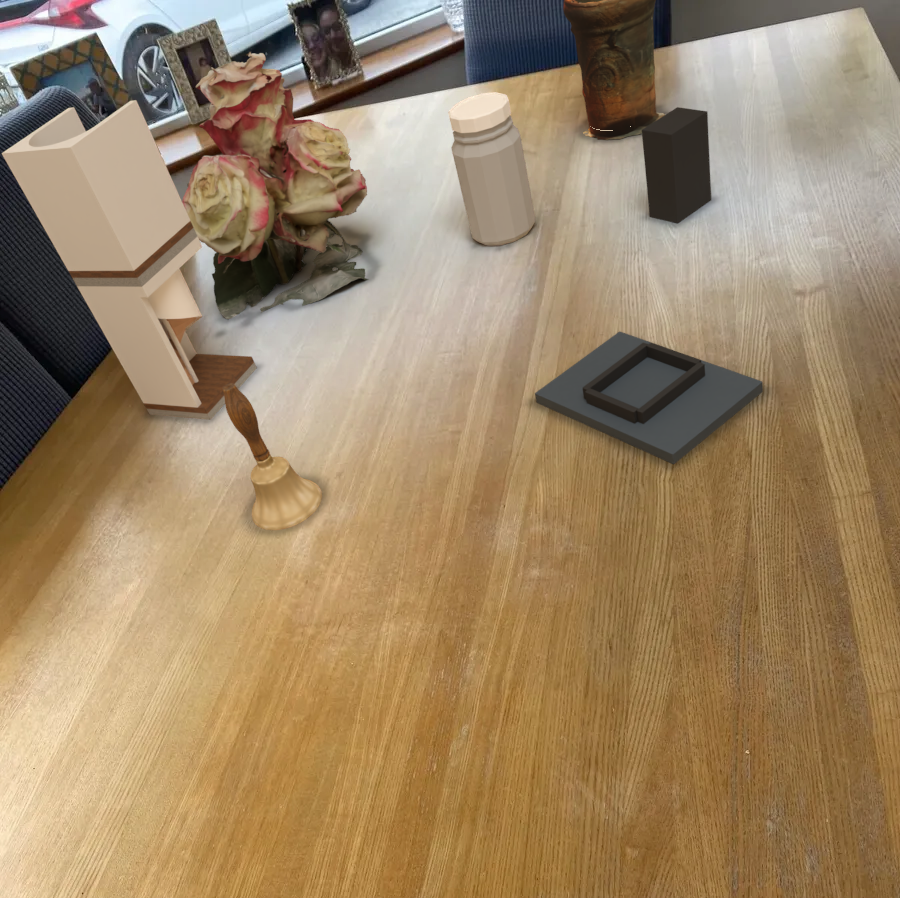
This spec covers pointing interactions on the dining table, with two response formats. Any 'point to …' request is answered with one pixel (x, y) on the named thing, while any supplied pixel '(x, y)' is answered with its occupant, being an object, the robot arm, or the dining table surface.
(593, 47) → the vessel
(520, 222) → the jar
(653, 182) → the pad block
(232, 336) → the dining table surface
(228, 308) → the rose bouquet
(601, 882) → the dining table surface
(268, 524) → the hand bell
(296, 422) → the dining table surface
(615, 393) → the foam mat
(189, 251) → the coffee grinder
